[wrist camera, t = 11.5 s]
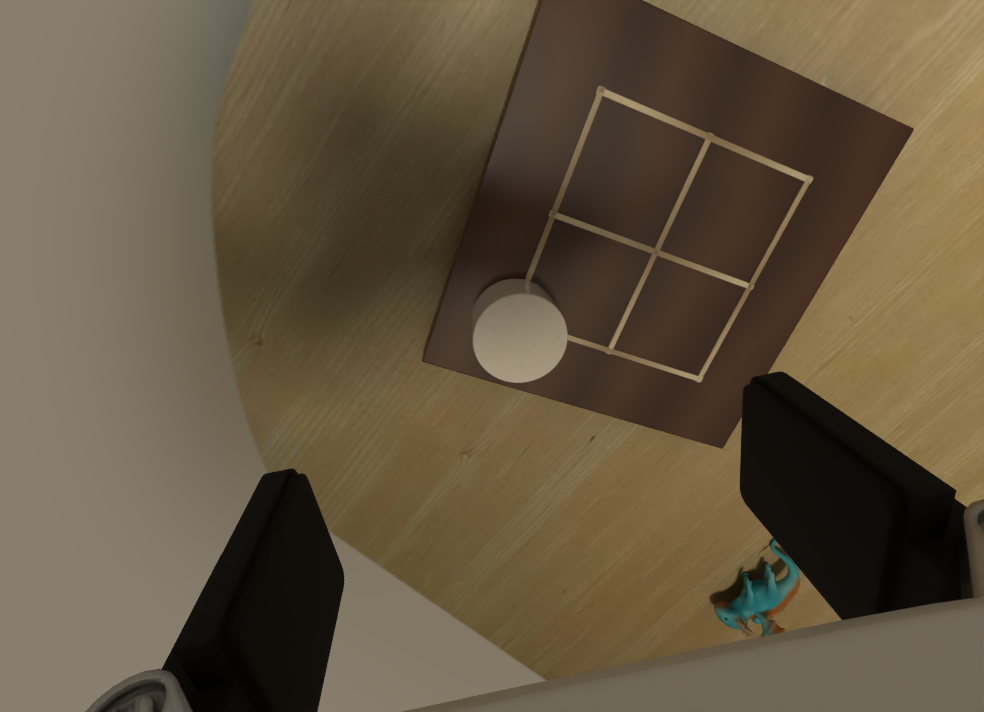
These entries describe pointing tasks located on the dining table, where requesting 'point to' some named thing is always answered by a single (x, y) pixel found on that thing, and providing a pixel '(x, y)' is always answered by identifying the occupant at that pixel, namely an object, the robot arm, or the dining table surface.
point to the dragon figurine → (761, 599)
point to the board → (660, 211)
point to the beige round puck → (517, 331)
